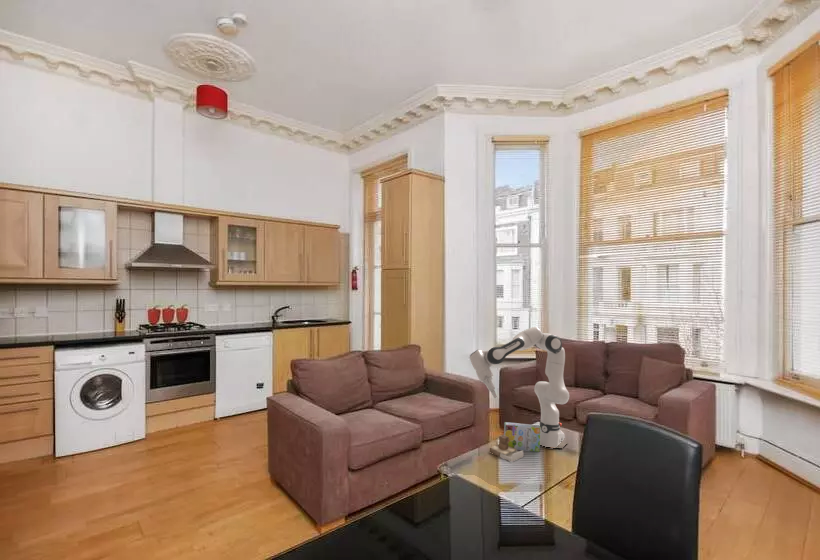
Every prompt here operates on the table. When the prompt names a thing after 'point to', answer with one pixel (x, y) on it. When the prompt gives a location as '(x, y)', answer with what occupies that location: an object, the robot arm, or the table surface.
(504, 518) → the table surface
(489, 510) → the table surface
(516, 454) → the tray
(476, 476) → the table surface
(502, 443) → the walnut block
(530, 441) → the snack box
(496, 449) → the birch board
